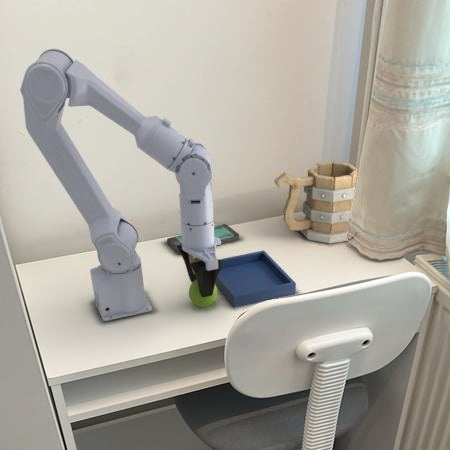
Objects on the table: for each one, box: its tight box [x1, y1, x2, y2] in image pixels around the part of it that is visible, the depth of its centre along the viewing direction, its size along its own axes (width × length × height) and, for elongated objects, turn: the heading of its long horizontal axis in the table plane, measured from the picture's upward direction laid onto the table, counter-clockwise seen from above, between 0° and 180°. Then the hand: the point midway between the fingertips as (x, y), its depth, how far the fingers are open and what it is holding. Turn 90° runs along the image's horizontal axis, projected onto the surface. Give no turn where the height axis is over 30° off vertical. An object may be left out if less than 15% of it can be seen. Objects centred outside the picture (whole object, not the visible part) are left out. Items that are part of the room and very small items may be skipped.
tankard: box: [274, 160, 359, 245], centre depth 139 cm, size 20×13×15 cm, turn 108°
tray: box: [215, 250, 297, 308], centre depth 127 cm, size 15×13×2 cm
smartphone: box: [166, 223, 240, 256], centre depth 142 cm, size 7×1×15 cm
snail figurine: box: [188, 253, 219, 308], centre depth 118 cm, size 5×6×12 cm
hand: (201, 288), depth 120 cm, fingers closed on snail figurine, 5 cm apart
